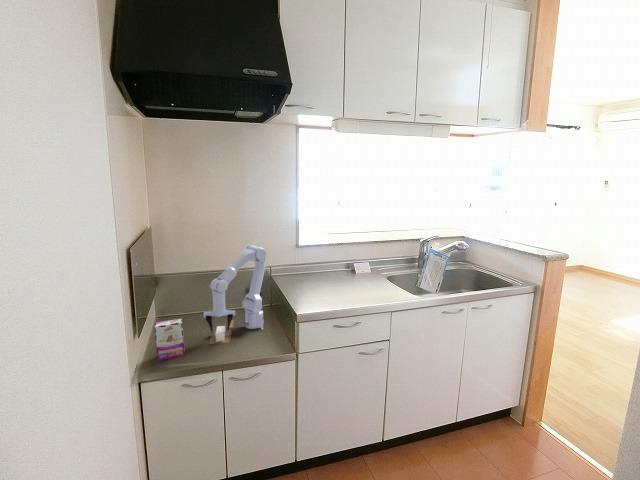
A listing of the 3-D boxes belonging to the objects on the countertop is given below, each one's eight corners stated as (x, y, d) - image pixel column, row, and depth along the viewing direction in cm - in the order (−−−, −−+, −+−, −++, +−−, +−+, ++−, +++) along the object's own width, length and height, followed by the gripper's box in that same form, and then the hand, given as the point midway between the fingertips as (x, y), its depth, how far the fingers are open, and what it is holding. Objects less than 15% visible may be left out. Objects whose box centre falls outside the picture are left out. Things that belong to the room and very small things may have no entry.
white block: (225, 333, 169) (225, 325, 168) (224, 341, 161) (224, 333, 160) (217, 333, 168) (217, 326, 167) (215, 341, 160) (215, 334, 160)
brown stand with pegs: (231, 332, 171) (231, 324, 170) (230, 343, 161) (230, 334, 160) (211, 334, 169) (211, 325, 168) (209, 345, 159) (209, 336, 158)
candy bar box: (184, 350, 154) (182, 317, 150) (185, 356, 149) (182, 322, 146) (157, 355, 149) (154, 321, 146) (157, 361, 145) (154, 326, 141)
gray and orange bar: (248, 324, 170) (248, 319, 169) (248, 326, 168) (248, 320, 167) (229, 325, 168) (229, 320, 167) (229, 327, 166) (229, 322, 165)
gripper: (202, 307, 154) (203, 334, 157) (234, 305, 157) (235, 332, 160) (204, 301, 161) (205, 327, 164) (235, 300, 164) (235, 325, 167)
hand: (220, 329), depth 162 cm, fingers open, 7 cm apart
